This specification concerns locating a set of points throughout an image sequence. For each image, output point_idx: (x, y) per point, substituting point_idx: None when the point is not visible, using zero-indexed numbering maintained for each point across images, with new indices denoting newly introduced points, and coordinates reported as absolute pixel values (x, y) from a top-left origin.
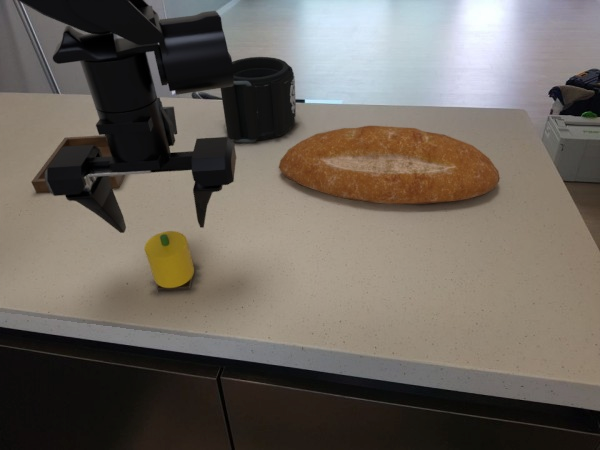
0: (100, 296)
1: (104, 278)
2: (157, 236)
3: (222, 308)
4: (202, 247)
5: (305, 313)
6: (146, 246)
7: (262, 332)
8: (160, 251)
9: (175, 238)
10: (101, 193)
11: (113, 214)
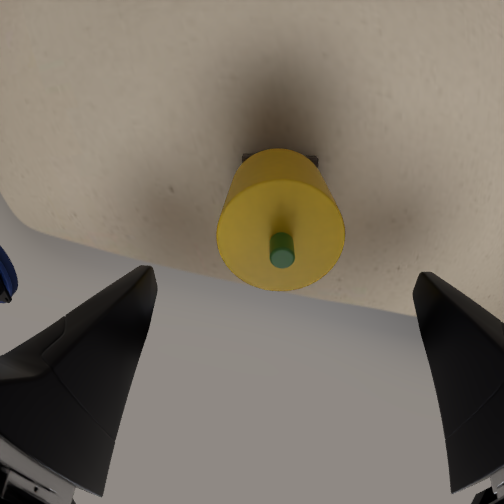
0: (133, 219)
1: (119, 172)
2: (247, 204)
3: (368, 267)
4: (331, 82)
5: (466, 284)
6: (222, 246)
7: (410, 309)
8: (270, 269)
9: (310, 220)
10: (84, 452)
11: (126, 367)
